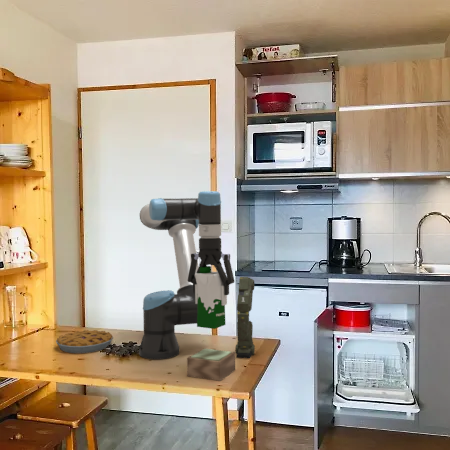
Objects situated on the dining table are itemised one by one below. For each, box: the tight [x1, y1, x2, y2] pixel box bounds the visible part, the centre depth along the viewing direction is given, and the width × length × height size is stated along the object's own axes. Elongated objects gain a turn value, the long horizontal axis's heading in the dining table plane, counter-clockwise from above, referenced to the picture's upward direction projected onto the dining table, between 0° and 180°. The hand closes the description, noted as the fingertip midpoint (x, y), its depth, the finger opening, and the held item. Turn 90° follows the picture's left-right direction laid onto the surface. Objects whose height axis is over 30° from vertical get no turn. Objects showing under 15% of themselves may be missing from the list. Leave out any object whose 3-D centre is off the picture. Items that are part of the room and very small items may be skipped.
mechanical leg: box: [234, 276, 256, 359], centre depth 194 cm, size 14×7×30 cm, turn 168°
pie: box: [55, 329, 114, 354], centre depth 205 cm, size 22×22×5 cm
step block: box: [186, 348, 236, 382], centre depth 172 cm, size 12×12×6 cm
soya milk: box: [195, 265, 227, 330], centre depth 173 cm, size 9×9×20 cm
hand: (211, 303), depth 173 cm, fingers closed on soya milk, 9 cm apart
